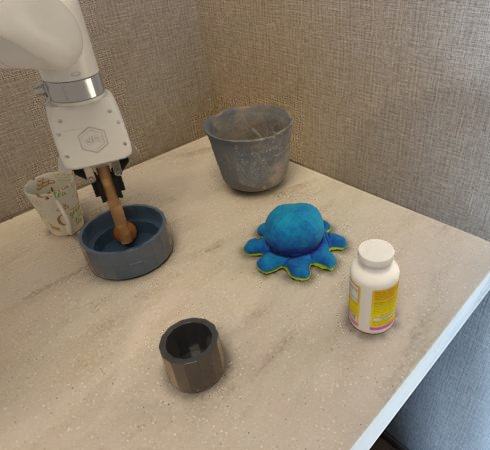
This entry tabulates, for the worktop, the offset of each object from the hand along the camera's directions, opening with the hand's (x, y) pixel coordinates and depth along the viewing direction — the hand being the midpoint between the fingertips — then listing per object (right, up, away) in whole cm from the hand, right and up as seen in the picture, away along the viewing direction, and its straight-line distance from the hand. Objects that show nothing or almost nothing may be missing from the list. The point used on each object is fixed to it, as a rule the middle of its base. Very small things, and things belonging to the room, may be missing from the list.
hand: (111, 195), depth 74 cm
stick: (+1, -8, +3) cm, 9 cm away
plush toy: (+31, -9, +4) cm, 32 cm away
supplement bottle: (+42, -19, -9) cm, 47 cm away
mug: (-12, -6, +11) cm, 18 cm away
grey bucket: (+22, +3, +22) cm, 31 cm away
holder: (+18, -24, -15) cm, 34 cm away
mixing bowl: (+2, -10, +5) cm, 11 cm away
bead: (0, -6, +6) cm, 8 cm away
